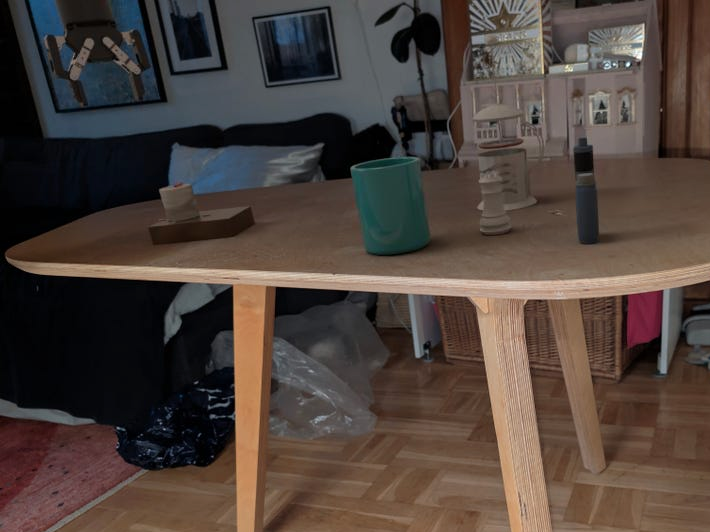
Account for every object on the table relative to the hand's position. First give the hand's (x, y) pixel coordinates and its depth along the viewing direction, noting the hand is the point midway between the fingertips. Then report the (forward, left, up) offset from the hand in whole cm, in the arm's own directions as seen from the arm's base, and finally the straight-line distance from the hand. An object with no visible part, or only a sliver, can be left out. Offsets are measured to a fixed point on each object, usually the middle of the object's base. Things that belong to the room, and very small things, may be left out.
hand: (112, 102), depth 114 cm
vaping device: (+73, -30, -23) cm, 82 cm away
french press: (+63, -3, -23) cm, 67 cm away
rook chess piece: (+61, -21, -23) cm, 68 cm away
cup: (+48, -23, -23) cm, 58 cm away
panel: (+10, -1, -22) cm, 24 cm away
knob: (+7, -1, -19) cm, 21 cm away
